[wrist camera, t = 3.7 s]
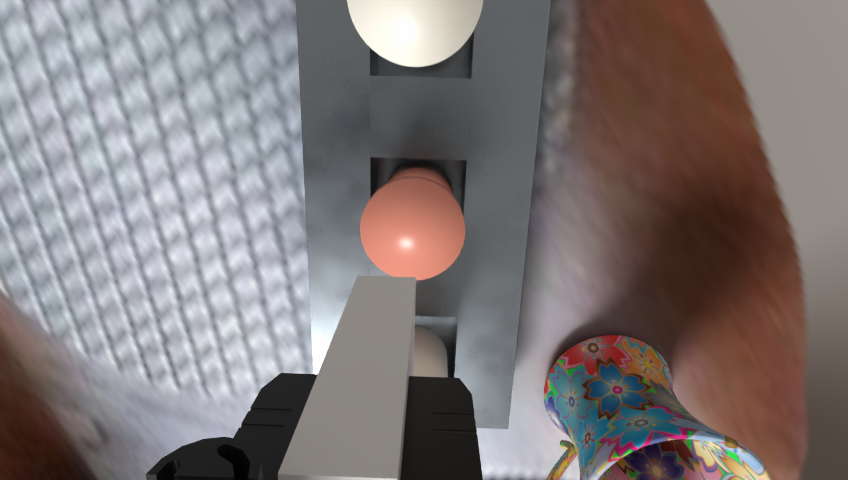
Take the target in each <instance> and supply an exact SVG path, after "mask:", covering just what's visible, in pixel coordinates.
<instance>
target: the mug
mask: <svg viewBox="0 0 848 480" xmlns="http://www.w3.org/2000/svg"><path fill="white" fill-rule="evenodd" d="M544 402H545V407H546V410H547V412H548V415H549V416H550V418H551V420H552V421H553V422H554V424H555V425H556V426H557V427H558V428H559V429H560V430H561V431H562V432H563V433H565V434H566V435H568V436H569V437H570V439H571V440H572V442H573V444H574V445H573V444H572V443H571V442H569V441H565V440H561V441H560V445H561V447H562V448H563V449H565V450H566V452H565V453H564V454H563V455H562V457H561V458H560V459H559V460H558V462H557V463H556V464H555V466H554V467H553V469H552V470H551V472H550V474H549V475H548V477H547V479H546V480H559V479H560V477H561V476H562V474H563V473H564V472H565V470H566V469H567V468H568V466H569V465H570V464H571V462H572V461H573V460H574V458H575V457H576V455H577V456H578V460H579V467H580V480H771V478H770V476H769V473H768V471H767V469H766V468H765V466H764V465H763V463H762V462H761V461H760V460H759V458H758V457H757V456H756V455H755V454H754V453H753V452H752V451H751V450H749V449H748V448H747V447H745V446H744V445H742V444H741V443H739V442H737V441H736V440H734V439H732V438H730V437H727V436H725V435H723V434H721V433H718V432H716V431H714V430H713V429H711V428H709V427H707V426H706V425H704V424H703V423H701V422H700V421H698V420H697V419H696V418H694V417H693V416H692V415H691V414H690V413H689V412H688V411H687V410H686V409H685V408H684V407H683V406H682V405H681V404H680V402H679V401H678V400H677V398H676V396H675V395H674V392H673V382H672V376H671V372H670V370H669V367H668V365H667V363H666V361H665V360H664V358H663V357H662V356H661V355H660V354H659V353H658V352H657V351H656V350H655V349H654V348H652V347H651V346H649V345H648V344H646V343H644V342H642V341H640V340H638V339H635V338H632V337H628V336H621V335H605V336H599V337H594V338H591V339H588V340H585V341H582V342H580V343H578V344H576V345H575V346H573V347H571V348H570V349H569V350H567V351H566V352H565V353H564V354H562V355H561V356H560V357H559V358H558V359H557V361H556V362H555V363H554V365H553V366H552V368H551V369H550V371H549V373H548V376H547V378H546V382H545V387H544Z"/></svg>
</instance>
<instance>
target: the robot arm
mask: <svg viewBox="0 0 848 480" xmlns="http://www.w3.org/2000/svg"><path fill="white" fill-rule="evenodd" d="M415 301H416V277H391V276H363V275H358V276H357V278H356V281H355V283H354V286H353V288H352V291H351V293H350V296H349V298H348V301H347V303H346V306H345V308H344V311H343V313H342V315H341V318H340V320H339V323H338V325H337V328H336V330H335V333H334V335H333V338H332V340H331V343H330V345H329V348H328V350H327V353H326V355H325V358H324V360H323V363H322V365H321V368H320V370H319V373H318V374H292V373H281V374H279V375H278V376H277V377H276V378H274V379H273V380H272V381H270V382H269V383H268V384H267V385H265V386H264V387H263V388H262V389H261V390H260V392H259V394H258V396H257V397H256V399H255V401H254V403H253V404H252V406H251V410H250V411H248V413H247V415H246V417H245V419H244V420H243V422H242V426H241V428H239V429H238V431H237V433H236V434H235V436H234V438H228V437H219V438H209V439H203V440H200V441H197V442H194V443H191V444H188V445H185V446H182V447H180V448H178V449H177V450H175V451H173V452H172V453H170V454H168V455H167V456H165V457H163V458H162V459H161V460H160V461H159V462H158V463H157V464H156V465H155V466H154V467H153V468H152V469H151V470H150V471H149V472H148V473H147V474H146V479H147V480H483V479H482V471H481V462H480V454H479V446H478V438H477V434H476V431H477V430H476V422H475V418H474V406H473V398H472V394H471V392H470V391H469V390H468V389H467V387H466V386H465V385H464V383H463V382H462V381H461V379H460V378H449V377H422V376H413V372H414V338H415Z"/></svg>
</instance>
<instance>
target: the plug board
mask: <svg viewBox="0 0 848 480" xmlns="http://www.w3.org/2000/svg"><path fill="white" fill-rule="evenodd" d="M550 7H551V0H483V6H482V10H481V14H480V17H479V20H478V22H477V25H476V27H475V29H474V30H473V32H472V34H471V36H470V37H469V38H468V40H467V41H466V43H465V44H464V45H463V46H462V47H461V48H460V49H459V50H458V51H457V52H456V53H455V54H454V55H452V56H451V57H449V58H448V59H446V60H444V61H442V62H440V63H437V64H434V65H431V66H425V67H406V66H402V65H398V64H396V63H393V62H390V61H389V60H387V59H385V58H383V57H382V56H380V55H379V54H377V53H376V52H375V51H373V50H372V49H371V48H370V47H369V46H368V45H367V44H366V43H365V41H364V40H363V39H362V38H361V36H360V35H359V33H358V31H357V30H356V28H355V26H354V24H353V21H352V19H351V16H350V13H349V9H348V4H347V0H296V14H297V35H298V56H299V78H300V99H301V120H302V142H303V163H304V184H305V205H306V227H307V248H308V269H309V290H310V312H311V333H312V354H313V374H318V373H319V370H320V368H321V365H322V363H323V360H324V358H325V355H326V353H327V350H328V348H329V345H330V343H331V340H332V338H333V335H334V333H335V330H336V328H337V325H338V323H339V320H340V318H341V315H342V313H343V311H344V308H345V306H346V303H347V301H348V298H349V296H350V293H351V291H352V288H353V286H354V283H355V281H356V278H357V276H358V275H363V276H391V275H389V274H387V273H385V272H383V271H382V270H380V269H379V268H378V267H377V266H376V265H375V264H374V263H373V262H372V261H371V260H370V258H369V257H368V255H367V254H366V252H365V250H364V247H363V245H362V241H361V237H360V222H361V217H362V214H363V211H364V209H365V207H366V205H367V203H368V202H369V200H370V199H371V197H372V196H373V194H374V193H375V192H376V191H377V190H378V189H379V188H381V187H382V186H383V185H385V184H386V183H387V181H388V180H389V178H390V177H391V175H392V174H393V173H394V172H395V171H396V170H398V169H399V168H401V167H403V166H405V165H408V164H411V163H426V164H429V165H432V166H434V167H436V168H438V169H439V170H441V171H442V172H443V173H444V174H445V175H446V177H447V178H448V179H449V181H450V183H451V185H452V189H453V194H454V197H455V198H456V200H457V202H458V203H459V205H460V208H461V210H462V213H463V217H464V223H465V239H464V243H463V247H462V249H461V252H460V254H459V255H458V257H457V259H456V260H455V261H454V262H453V264H452V265H451V266H450V267H448V268H447V269H446V270H445V271H443V272H442V273H440V274H438V275H436V276H434V277H431V278H428V279H424V280H416V301H415V326H416V327H422V328H425V329H428V330H430V331H432V332H433V333H435V334H436V335H437V336H438V337H439V338H440V339H441V340H442V342H443V343H444V345H445V348H446V351H447V366H448V377H449V378H460V379H461V381H462V382H463V383H464V385H465V386H466V387H467V389H468V390H469V391H470V392H471V394H472V398H473V406H474V418H475V422H476V428H495V429H508V424H509V414H510V404H511V395H512V385H513V375H514V365H515V355H516V345H517V335H518V325H519V315H520V305H521V295H522V285H523V275H524V266H525V256H526V246H527V236H528V226H529V216H530V206H531V196H532V186H533V176H534V166H535V156H536V146H537V137H538V127H539V117H540V107H541V97H542V87H543V77H544V67H545V57H546V47H547V37H548V27H549V17H550ZM391 277H393V276H391Z"/></svg>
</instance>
